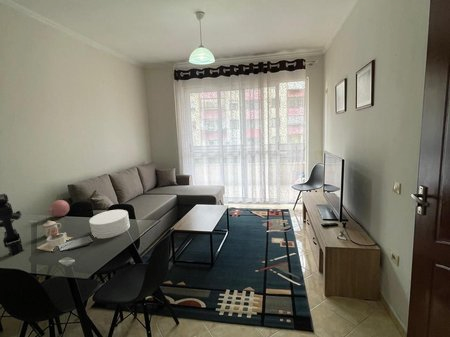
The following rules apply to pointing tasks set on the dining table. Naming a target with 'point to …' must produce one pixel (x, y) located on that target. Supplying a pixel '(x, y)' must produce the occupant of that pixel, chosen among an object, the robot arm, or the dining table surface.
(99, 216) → the plate stack
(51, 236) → the plunger
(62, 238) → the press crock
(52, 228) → the teacup with lid
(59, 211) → the balloon
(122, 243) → the dining table surface
